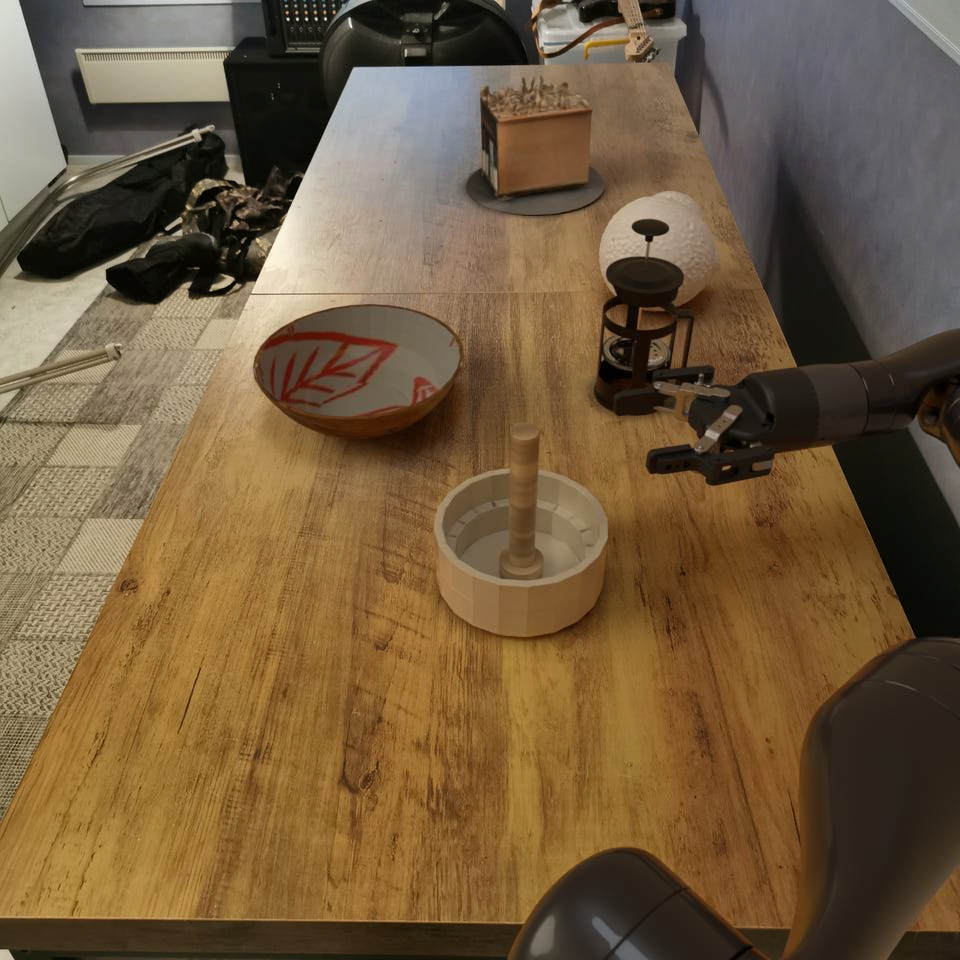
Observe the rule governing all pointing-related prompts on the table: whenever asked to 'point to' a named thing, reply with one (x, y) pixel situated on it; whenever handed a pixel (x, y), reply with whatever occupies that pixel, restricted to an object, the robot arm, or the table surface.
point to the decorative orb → (665, 241)
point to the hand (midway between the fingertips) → (630, 432)
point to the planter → (535, 151)
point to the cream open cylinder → (485, 534)
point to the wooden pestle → (522, 506)
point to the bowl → (359, 369)
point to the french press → (640, 288)
